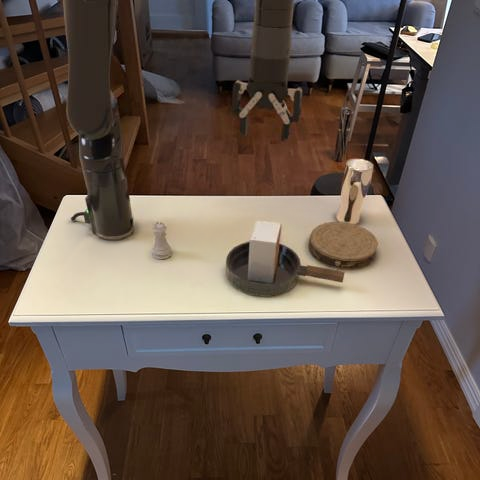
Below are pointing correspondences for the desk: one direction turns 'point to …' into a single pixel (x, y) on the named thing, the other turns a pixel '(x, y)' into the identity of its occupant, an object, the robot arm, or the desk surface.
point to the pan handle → (321, 273)
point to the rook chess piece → (161, 242)
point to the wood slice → (342, 245)
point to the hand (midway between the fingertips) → (263, 137)
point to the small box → (264, 251)
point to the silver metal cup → (354, 189)
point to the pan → (281, 283)
